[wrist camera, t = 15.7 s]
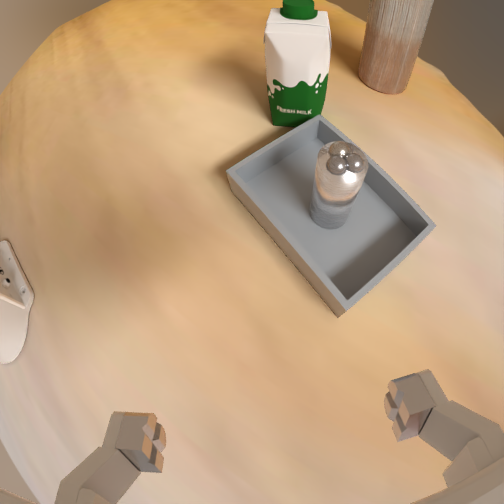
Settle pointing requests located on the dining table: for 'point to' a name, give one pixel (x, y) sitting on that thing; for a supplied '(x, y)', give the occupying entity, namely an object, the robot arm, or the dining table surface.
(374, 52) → the planter
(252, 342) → the dining table surface
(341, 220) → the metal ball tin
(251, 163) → the bin
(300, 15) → the milk carton
